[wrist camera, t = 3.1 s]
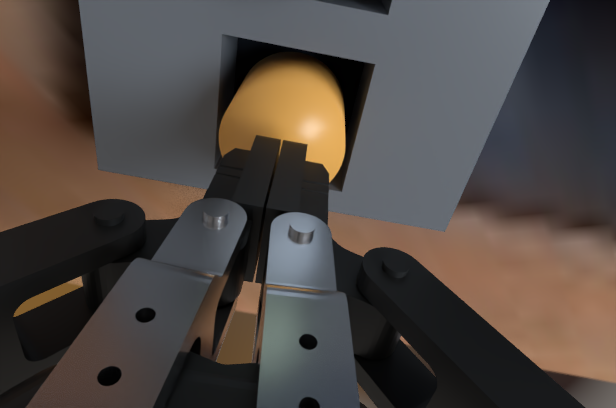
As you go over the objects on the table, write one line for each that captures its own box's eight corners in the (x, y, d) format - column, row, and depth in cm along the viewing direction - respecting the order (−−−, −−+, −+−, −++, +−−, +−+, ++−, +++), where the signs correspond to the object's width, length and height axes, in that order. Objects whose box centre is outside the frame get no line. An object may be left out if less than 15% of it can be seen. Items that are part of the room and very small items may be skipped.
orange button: (244, 41, 15) (222, 71, 12) (355, 63, 15) (359, 97, 13) (235, 142, 17) (215, 187, 15) (332, 160, 18) (331, 208, 15)
